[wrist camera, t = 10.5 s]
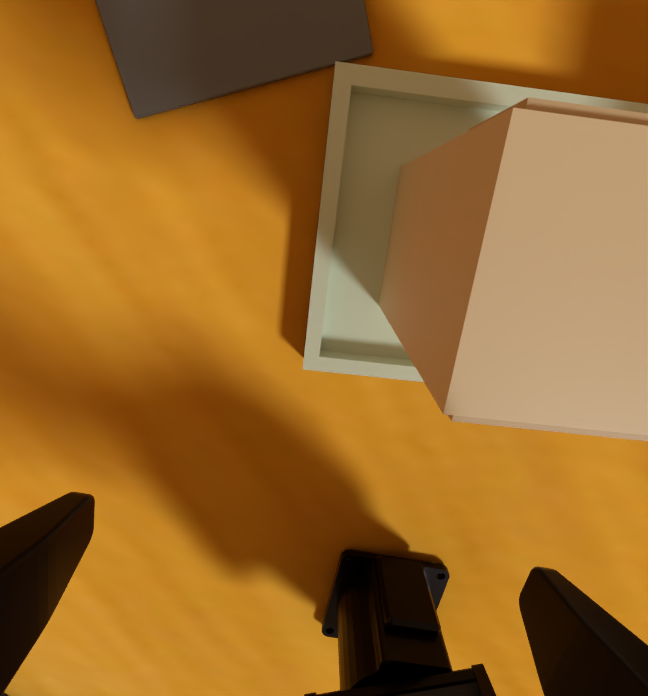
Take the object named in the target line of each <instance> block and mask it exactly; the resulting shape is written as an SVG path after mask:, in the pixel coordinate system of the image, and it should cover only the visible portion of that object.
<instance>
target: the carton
mask: <svg viewBox="0 0 648 696" xmlns="http://www.w3.org/2000/svg"><path fill="white" fill-rule="evenodd" d="M379 307H380V308H381V310H382V312H383V314H384V315H385V317H386V319H387V320H388V322H389V324H390V325H391V327H392V329H393V330H394V332H395V334H396V335H397V337H398V339H399V340H400V342H401V344H402V346H403V347H404V349H405V351H406V352H407V354H408V356H409V357H410V359H411V361H412V362H413V364H414V366H415V367H416V369H417V371H418V373H419V374H420V376H421V378H422V379H423V381H424V383H425V384H426V386H427V388H428V389H429V391H430V393H431V394H432V396H433V398H434V399H435V401H436V403H437V405H438V406H439V408H440V410H441V411H442V413H443V414H445V415H448V416H449V417H450V419H451V421H456V422H466V423H475V424H485V425H495V426H505V427H514V428H524V429H534V430H544V431H553V432H563V433H573V434H583V435H592V436H602V437H612V438H622V439H631V440H641V441H648V114H647V113H640V112H633V111H625V110H618V109H611V108H603V107H596V106H589V105H582V104H574V103H567V102H560V101H552V100H545V99H538V98H530V97H528V98H526V99H524V100H522V101H520V102H519V103H517V104H515V105H513V106H511V107H509V108H507V109H506V110H504V111H502V112H500V113H498V114H496V115H494V116H492V117H491V118H489V119H487V120H485V121H483V122H481V123H479V124H478V125H476V126H474V127H472V128H470V129H469V130H468V132H466V133H464V134H462V135H460V136H458V137H456V138H454V139H452V140H451V141H449V142H447V143H445V144H443V145H441V146H439V147H437V148H435V149H433V150H431V151H430V152H428V153H426V154H424V155H422V156H420V157H418V158H416V159H414V160H412V161H410V162H409V163H407V164H405V165H403V166H401V167H400V174H399V180H398V186H397V192H396V199H395V205H394V211H393V217H392V224H391V230H390V236H389V242H388V249H387V255H386V261H385V267H384V274H383V280H382V286H381V292H380V299H379Z"/></svg>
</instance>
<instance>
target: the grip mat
mask: <svg viewBox="0 0 648 696" xmlns="http://www.w3.org/2000/svg"><path fill="white" fill-rule="evenodd" d="M95 1H96V4H97V7H98V10H99V13H100V16H101V19H102V22H103V25H104V28H105V31H106V34H107V37H108V40H109V43H110V46H111V49H112V52H113V54H114V57H115V60H116V63H117V66H118V69H119V72H120V75H121V78H122V81H123V84H124V87H125V90H126V93H127V96H128V99H129V102H130V105H131V108H132V110H133V113H134V116H135V118H137V119H140V118H144V117H147V116H151V115H154V114H158V113H162V112H165V111H169V110H173V109H176V108H180V107H184V106H187V105H191V104H195V103H198V102H202V101H205V100H209V99H213V98H216V97H220V96H224V95H227V94H231V93H235V92H238V91H242V90H246V89H249V88H253V87H257V86H260V85H264V84H267V83H271V82H275V81H278V80H282V79H286V78H289V77H293V76H297V75H300V74H304V73H308V72H311V71H315V70H319V69H322V68H326V67H329V66H333V65H335V61H338V62H348V61H351V60H355V59H359V58H362V57H366V56H370V55H372V54H373V49H372V43H371V37H370V31H369V25H368V19H367V14H366V8H365V2H364V0H95Z"/></svg>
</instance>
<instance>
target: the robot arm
mask: <svg viewBox="0 0 648 696" xmlns="http://www.w3.org/2000/svg"><path fill="white" fill-rule="evenodd" d="M94 507H95V500H94V497H93V496H92V495H90V494H85V493H78V492H70V493H68V494H66V495H64V496H62V497H60V498H58V499H56V500H54V501H52V502H50V503H48V504H46V505H44V506H42V507H40V508H38V509H36V510H34V511H32V512H30V513H28V514H26V515H24V516H22V517H20V518H18V519H16V520H14V521H12V522H10V523H8V524H6V525H4V526H2V527H1V528H0V696H2V694H3V693H4V691H5V689H6V688H7V686H8V685H9V683H10V682H11V680H12V678H13V677H14V675H15V674H16V672H17V671H18V669H19V668H20V666H21V664H22V663H23V661H24V660H25V658H26V657H27V655H28V653H29V652H30V650H31V649H32V647H33V646H34V644H35V643H36V641H37V639H38V638H39V636H40V635H41V633H42V631H43V630H44V628H45V626H46V625H47V623H48V621H49V620H50V618H51V616H52V614H53V612H54V610H55V608H56V606H57V605H58V603H59V601H60V599H61V597H62V595H63V593H64V591H65V589H66V587H67V585H68V583H69V581H70V579H71V577H72V575H73V573H74V571H75V569H76V568H77V566H78V564H79V562H80V560H81V558H82V556H83V554H84V552H85V550H86V548H87V546H88V544H89V542H90V540H91V537H92V534H93V529H94ZM349 558H351V560H347V559H349ZM439 573H441V574H439ZM448 579H449V572H448V569H447V567H446V566H445V565H442V564H437V563H430V562H424V561H418V560H412V559H405V558H399V557H393V556H386V555H380V554H374V553H368V552H361V551H355V550H346V551H344V552H342V554H341V556H340V560H339V563H338V567H337V571H336V574H335V578H334V582H333V585H332V589H331V593H330V596H329V600H328V604H327V607H326V611H325V615H324V618H323V622H322V633H323V634H324V635H325V636H328V637H334V638H338V649H339V674H340V691H334V692H328V693H323V694H316V692H315V693H309V694H305V695H304V696H496V694H495V692H494V689H493V687H492V685H491V682H490V680H489V677H488V675H487V673H486V670H485V668H484V665H483V664H478V665H472V666H471V667H472V668H468V669H462V670H457V671H452V667H451V664H450V660H449V657H448V653H447V649H446V646H445V642H444V639H443V635H442V632H441V626H440V623H439V619H438V616H437V612H436V611H437V608H438V605H439V603H440V600H441V598H442V595H443V592H444V590H445V587H446V584H447V582H448ZM519 606H520V611H521V615H522V618H523V622H524V626H525V629H526V633H527V636H528V640H529V644H530V647H531V651H532V655H533V658H534V662H535V665H536V669H537V673H538V676H539V680H540V683H541V686H542V690H543V693H544V696H648V645H647V644H645V643H644V642H643V641H642V640H640V639H639V638H638V637H637V636H636V635H634V634H633V633H632V632H631V631H629V630H628V629H627V628H626V627H625V626H623V625H622V624H621V623H620V622H619V621H617V620H616V619H615V618H614V617H612V616H611V615H610V614H609V613H608V612H606V611H605V610H604V609H603V608H601V607H600V606H599V605H598V604H597V603H595V602H594V601H593V600H592V599H590V598H589V597H588V596H587V595H586V594H584V593H583V592H582V591H581V590H580V589H578V588H577V587H576V586H575V585H573V584H572V583H571V582H570V581H569V580H567V579H566V578H565V577H564V576H562V575H561V574H560V573H559V572H557V571H556V570H554V569H550V568H544V567H534V568H533V569H532V570H531V572H530V574H529V576H528V578H527V580H526V583H525V585H524V587H523V589H522V591H521V594H520V597H519Z"/></svg>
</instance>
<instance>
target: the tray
mask: <svg viewBox="0 0 648 696" xmlns="http://www.w3.org/2000/svg"><path fill="white" fill-rule="evenodd" d="M528 97H530V98H538V99H545V100H552V101H560V102H567V103H574V104H582V105H589V106H596V107H603V108H611V109H618V110H625V111H633V112H640V113H647V114H648V104H645V103H638V102H631V101H623V100H616V99H609V98H601V97H594V96H587V95H579V94H572V93H565V92H557V91H550V90H543V89H535V88H528V87H521V86H513V85H506V84H499V83H491V82H484V81H477V80H469V79H462V78H455V77H447V76H440V75H433V74H426V73H418V72H411V71H404V70H396V69H389V68H382V67H374V66H367V65H360V64H352V63H345V62H338V61H335V70H334V80H333V89H332V98H331V108H330V117H329V127H328V136H327V145H326V155H325V164H324V174H323V183H322V192H321V202H320V211H319V220H318V230H317V239H316V249H315V258H314V267H313V277H312V286H311V296H310V305H309V314H308V324H307V333H306V342H305V352H304V361H303V369H305V370H314V371H324V372H333V373H343V374H353V375H362V376H372V377H381V378H391V379H400V380H410V381H419V382H424V381H423V379H422V378H421V376H420V374H419V373H418V371H417V369H416V367H415V366H414V364H413V362H412V361H411V359H410V357H409V356H408V354H407V352H406V351H405V349H404V347H403V346H402V344H401V342H400V340H399V339H398V337H397V335H396V334H395V332H394V330H393V329H392V327H391V325H390V324H389V322H388V320H387V319H386V317H385V315H384V314H383V312H382V310H381V308H380V307H379V299H380V292H381V286H382V280H383V274H384V267H385V261H386V255H387V249H388V242H389V236H390V230H391V224H392V217H393V211H394V205H395V199H396V192H397V186H398V180H399V174H400V167H401V166H403V165H405V164H407V163H409V162H410V161H412V160H414V159H416V158H418V157H420V156H422V155H424V154H426V153H428V152H430V151H431V150H433V149H435V148H437V147H439V146H441V145H443V144H445V143H447V142H449V141H451V140H452V139H454V138H456V137H458V136H460V135H462V134H464V133H466V132H468V130H469V129H470V128H472V127H474V126H476V125H478V124H479V123H481V122H483V121H485V120H487V119H489V118H491V117H492V116H494V115H496V114H498V113H500V112H502V111H504V110H506V109H507V108H509V107H511V106H513V105H515V104H517V103H519V102H520V101H522V100H524V99H526V98H528Z"/></svg>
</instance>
